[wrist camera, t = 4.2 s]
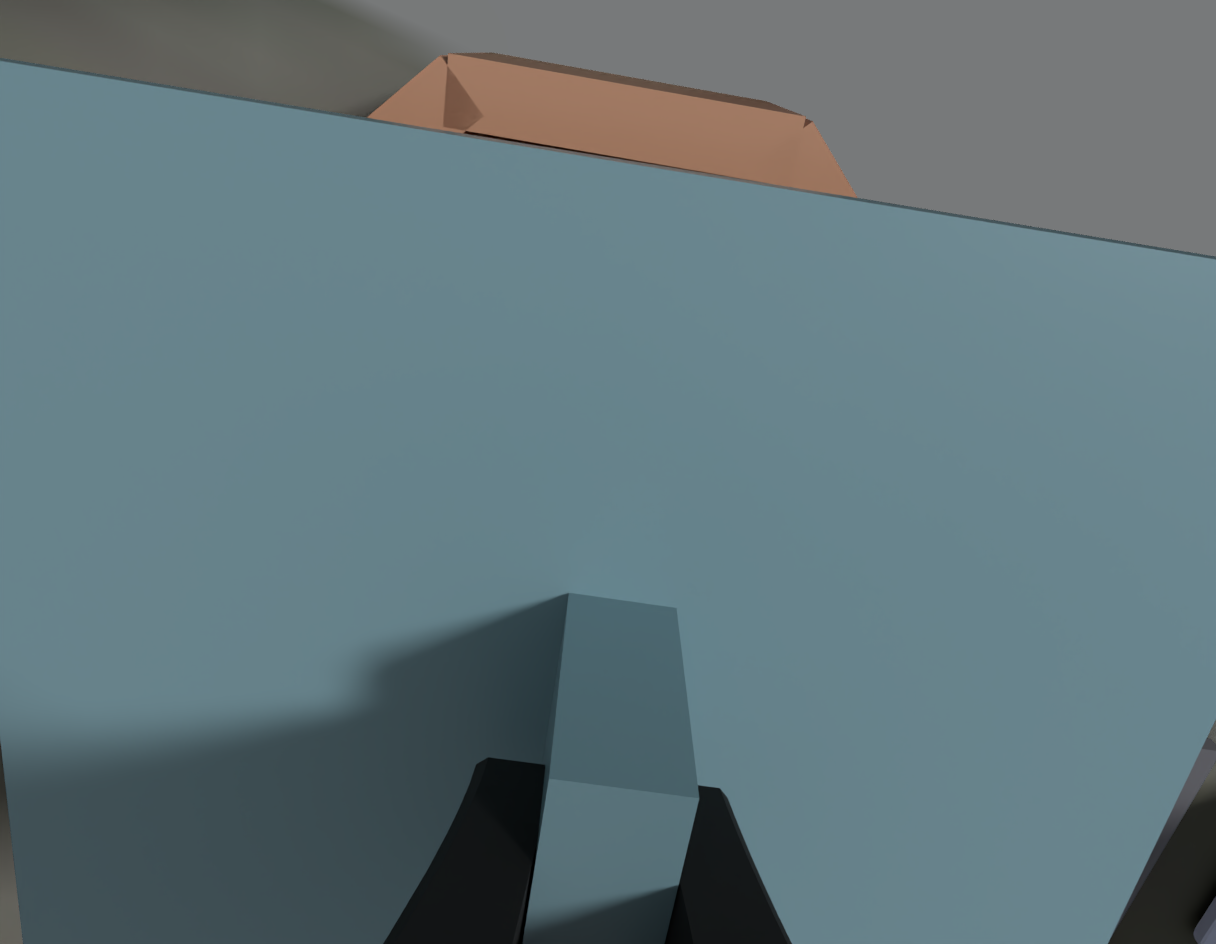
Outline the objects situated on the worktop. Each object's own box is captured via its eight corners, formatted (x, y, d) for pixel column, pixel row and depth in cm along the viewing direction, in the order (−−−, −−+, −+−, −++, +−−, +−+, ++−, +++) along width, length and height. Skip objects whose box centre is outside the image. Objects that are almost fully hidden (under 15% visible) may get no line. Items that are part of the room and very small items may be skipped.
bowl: (943, 130, 15) (1061, 161, 11) (787, 645, 19) (829, 806, 15) (307, 18, 14) (176, 5, 10) (298, 571, 19) (204, 716, 15)
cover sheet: (1355, 279, 9) (1808, 374, 6) (961, 1153, 14) (1074, 1491, 11) (-18, 55, 9) (-457, 6, 5) (72, 1050, 14) (-119, 1372, 10)
